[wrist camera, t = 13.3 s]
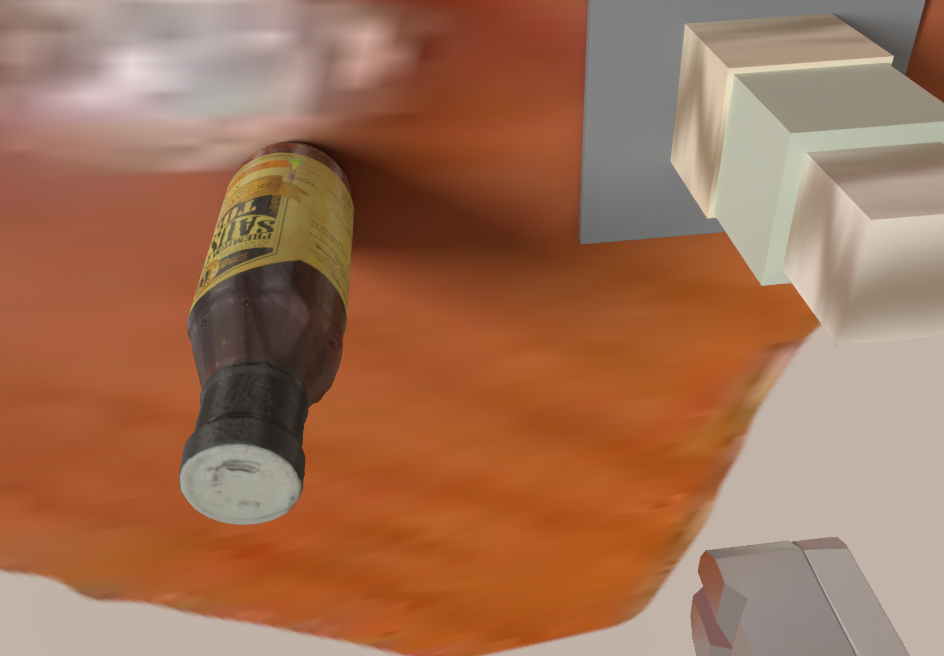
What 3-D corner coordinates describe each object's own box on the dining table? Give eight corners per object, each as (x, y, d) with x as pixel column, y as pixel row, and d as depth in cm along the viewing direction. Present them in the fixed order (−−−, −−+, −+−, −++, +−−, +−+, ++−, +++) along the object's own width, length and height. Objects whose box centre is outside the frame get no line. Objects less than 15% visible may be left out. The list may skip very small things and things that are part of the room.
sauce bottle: (274, 110, 41) (214, 371, 25) (379, 183, 44) (384, 460, 28) (202, 206, 44) (107, 498, 28) (305, 269, 47) (272, 567, 31)
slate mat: (591, -78, 38) (594, -75, 37) (944, -101, 38) (951, -98, 38) (578, 238, 47) (580, 244, 47) (861, 214, 48) (866, 220, 47)
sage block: (733, 73, 35) (790, 133, 31) (886, 62, 36) (967, 119, 31) (713, 213, 39) (761, 285, 34) (851, 201, 40) (918, 271, 35)
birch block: (685, 23, 40) (728, 68, 35) (831, 13, 40) (893, 56, 36) (670, 161, 44) (707, 218, 39) (803, 151, 45) (855, 206, 40)
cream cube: (806, 152, 31) (871, 219, 27) (939, 141, 31) (1023, 207, 27) (782, 269, 34) (837, 345, 30) (903, 258, 34) (974, 332, 30)
